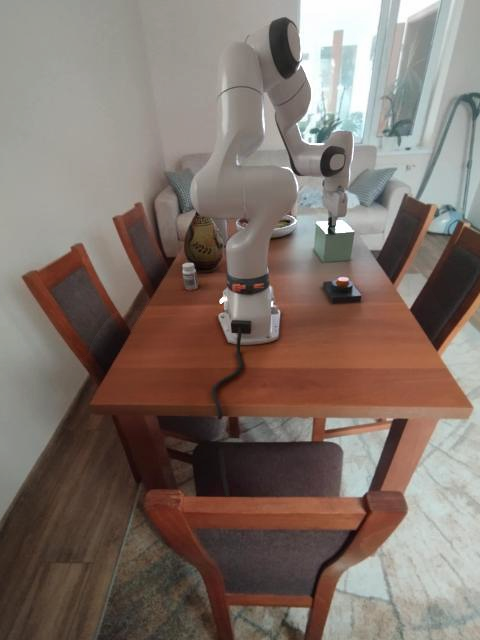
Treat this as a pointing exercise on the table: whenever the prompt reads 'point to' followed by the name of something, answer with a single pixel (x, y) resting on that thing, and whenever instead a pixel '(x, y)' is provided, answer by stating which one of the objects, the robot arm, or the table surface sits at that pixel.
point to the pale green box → (333, 241)
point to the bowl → (281, 229)
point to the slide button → (330, 222)
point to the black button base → (341, 292)
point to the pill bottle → (190, 276)
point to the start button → (342, 281)
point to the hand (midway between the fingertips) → (332, 223)
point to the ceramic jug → (203, 244)
